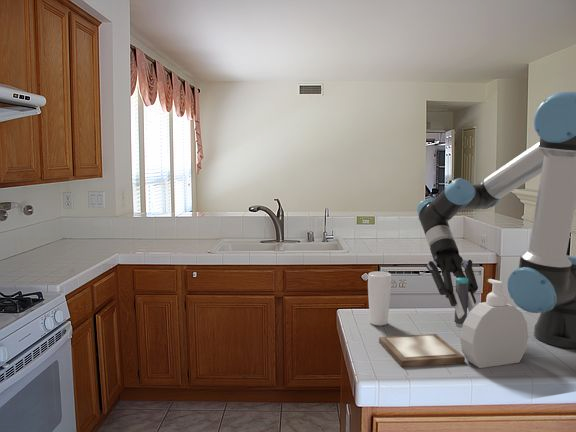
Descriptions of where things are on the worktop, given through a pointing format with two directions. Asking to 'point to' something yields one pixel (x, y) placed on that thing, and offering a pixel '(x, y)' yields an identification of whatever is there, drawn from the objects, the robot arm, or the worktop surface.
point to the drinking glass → (379, 297)
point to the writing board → (420, 350)
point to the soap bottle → (494, 331)
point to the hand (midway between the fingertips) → (468, 315)
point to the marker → (462, 299)
